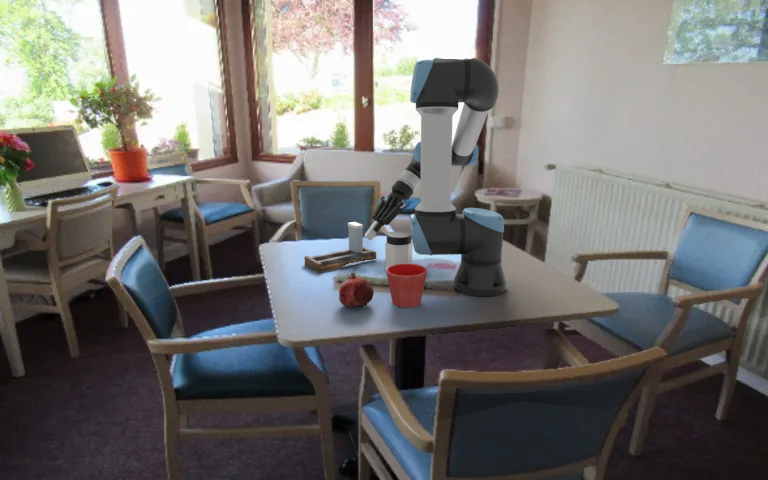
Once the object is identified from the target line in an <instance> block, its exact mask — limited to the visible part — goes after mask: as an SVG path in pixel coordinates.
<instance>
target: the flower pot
mask: <svg viewBox="0 0 768 480" xmlns="http://www.w3.org/2000/svg"><path fill="white" fill-rule="evenodd" d="M385 271H386V277H387V281H388V282H387V283H388V287H389V288H388V289H389V292H390V297H391V302H392V304H393V305H394V306H396V307H398V308H405V309H411V308H415V307H418V306H420V305H421V302H422V298H423V295H424V294H423V293H424V290H425V285H426V279H427V274H428V269H427V268H426V267H425V266H423V265H420V264H415V263H412V264H397V265H393V266H390V267H388V268H387V270H385Z"/></svg>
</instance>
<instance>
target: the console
mask: <svg viewBox="0 0 768 480" xmlns="http://www.w3.org/2000/svg"><path fill="white" fill-rule="evenodd" d="M351 251H352V250H349V248H348V249H347V248H346V249H343V250H338V251H334V252H333V251H332V252H328V253H323V254H317V255H312V256H308V255H305V256H304V266H306V267H308V268H309V269H311V270H313V272H316V273H317V274H320V273H325V272H331V271H335V270H338V269H343V268H342V267H343V266H345V265H346V264H349V263H354V262H359V261H365V260H373V259H376V260H377V252H376V251H374V250H373V249H369V248H367V247H365V246H363V252H359V253H354V254H351Z"/></svg>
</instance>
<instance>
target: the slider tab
mask: <svg viewBox="0 0 768 480" xmlns="http://www.w3.org/2000/svg"><path fill="white" fill-rule="evenodd" d="M347 226H348V249H349V250H352V251H351V254H354V253H359V252H363V247H364V245H363V242H364V241H363V240H364V239H363V228H364V224H362V223H359V222H357V221H352V222H347Z"/></svg>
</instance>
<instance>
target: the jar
mask: <svg viewBox="0 0 768 480" xmlns="http://www.w3.org/2000/svg"><path fill="white" fill-rule="evenodd" d="M384 246H385V248H384V249H385V253H384V255H385V259H384V260H385V267H387V268H388V267H390V266H393V265H397V264H413V249H414V247H413V242H412V236H411V232H408V231H403V230H402V231H401V230H397V231H396V230H395V231H390V232H387V233H386V242H385V244H384Z"/></svg>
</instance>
